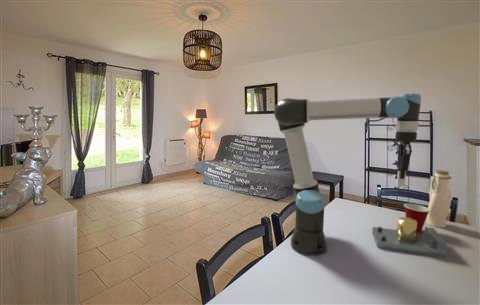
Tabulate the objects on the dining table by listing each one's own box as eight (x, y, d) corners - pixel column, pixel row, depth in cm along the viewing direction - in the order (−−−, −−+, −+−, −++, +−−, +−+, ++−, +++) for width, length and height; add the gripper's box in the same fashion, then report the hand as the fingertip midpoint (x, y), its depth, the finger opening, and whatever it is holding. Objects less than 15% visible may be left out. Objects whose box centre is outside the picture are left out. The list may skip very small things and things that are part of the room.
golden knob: (398, 245, 109) (400, 222, 108) (394, 238, 116) (396, 216, 114) (416, 248, 107) (419, 224, 105) (412, 240, 113) (414, 218, 112)
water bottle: (440, 230, 124) (447, 174, 119) (420, 223, 132) (426, 170, 127) (451, 225, 128) (458, 171, 124) (431, 219, 136) (437, 168, 132)
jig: (377, 247, 109) (378, 234, 108) (372, 232, 122) (373, 221, 121) (444, 257, 101) (446, 243, 100) (431, 240, 114) (433, 228, 113)
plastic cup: (433, 232, 121) (436, 208, 119) (417, 236, 118) (419, 212, 116) (411, 223, 131) (414, 201, 130) (396, 226, 128) (398, 204, 126)
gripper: (421, 132, 100) (414, 190, 103) (412, 130, 112) (406, 182, 115) (399, 132, 102) (393, 188, 106) (393, 129, 114) (387, 180, 118)
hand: (400, 185), depth 111 cm, fingers closed
